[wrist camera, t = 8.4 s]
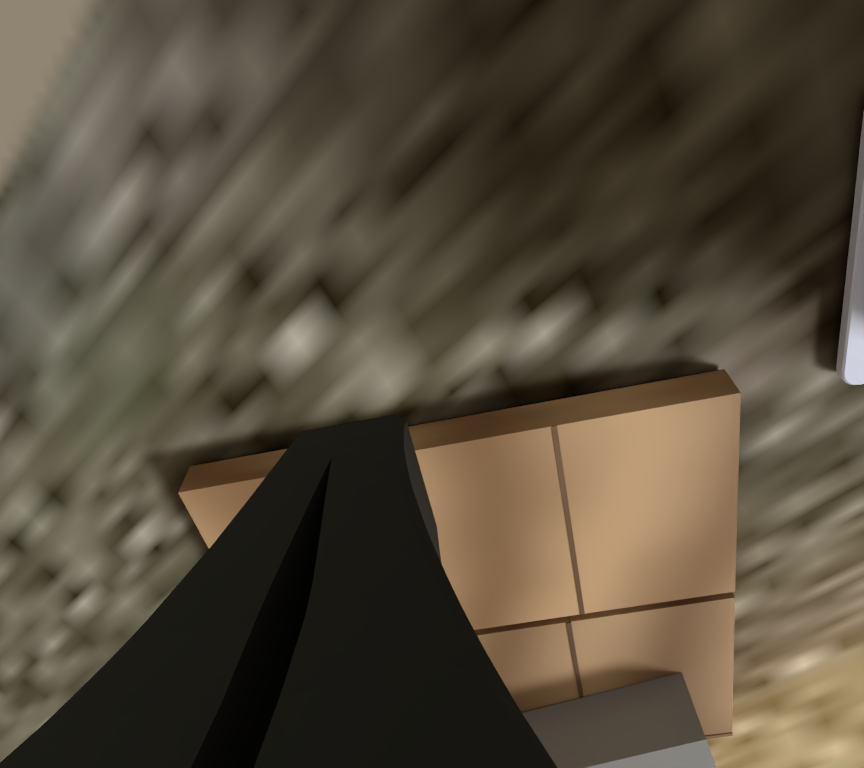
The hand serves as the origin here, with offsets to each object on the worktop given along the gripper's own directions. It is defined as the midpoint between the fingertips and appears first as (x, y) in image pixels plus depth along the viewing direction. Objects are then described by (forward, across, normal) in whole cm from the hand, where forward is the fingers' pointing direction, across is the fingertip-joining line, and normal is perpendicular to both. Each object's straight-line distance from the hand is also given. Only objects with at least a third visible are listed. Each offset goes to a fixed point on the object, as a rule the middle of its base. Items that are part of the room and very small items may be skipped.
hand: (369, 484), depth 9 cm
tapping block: (+9, -3, +20) cm, 22 cm away
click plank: (+10, 0, +10) cm, 14 cm away
